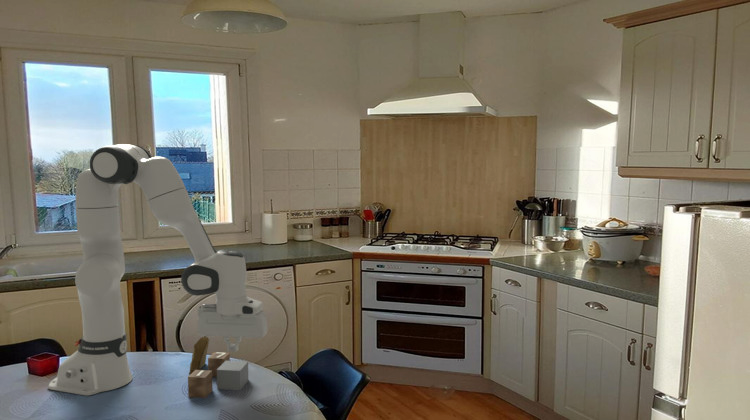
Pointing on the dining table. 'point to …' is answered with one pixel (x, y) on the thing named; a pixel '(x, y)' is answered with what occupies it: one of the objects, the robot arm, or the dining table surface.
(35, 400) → the dining table surface
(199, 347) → the rock
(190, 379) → the walnut block one
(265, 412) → the dining table surface
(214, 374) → the walnut block seven
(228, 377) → the grey block
